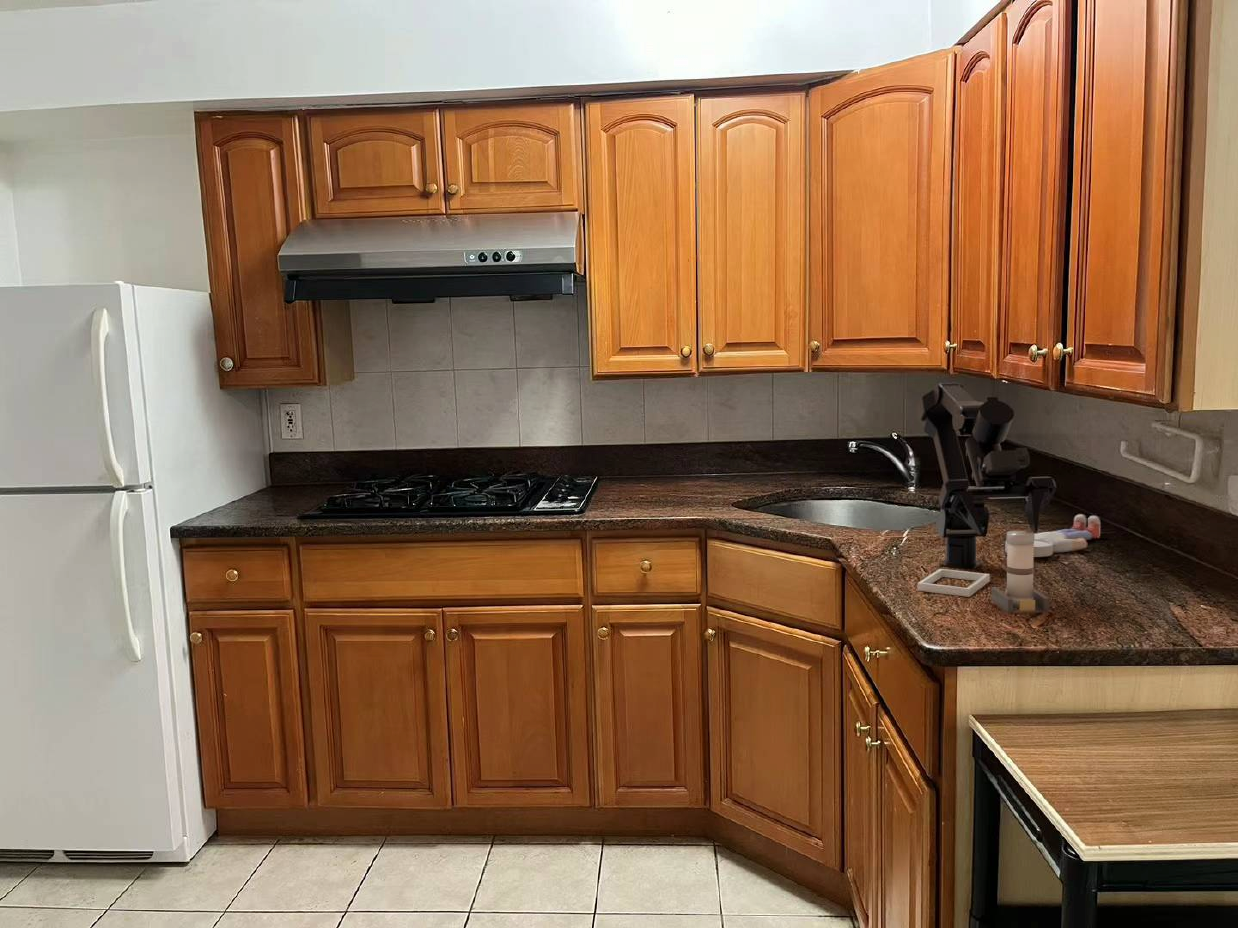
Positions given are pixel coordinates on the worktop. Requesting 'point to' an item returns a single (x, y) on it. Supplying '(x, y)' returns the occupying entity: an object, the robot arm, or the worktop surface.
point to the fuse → (1020, 566)
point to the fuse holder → (1020, 602)
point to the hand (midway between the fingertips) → (1008, 533)
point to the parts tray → (960, 591)
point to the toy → (1066, 537)
